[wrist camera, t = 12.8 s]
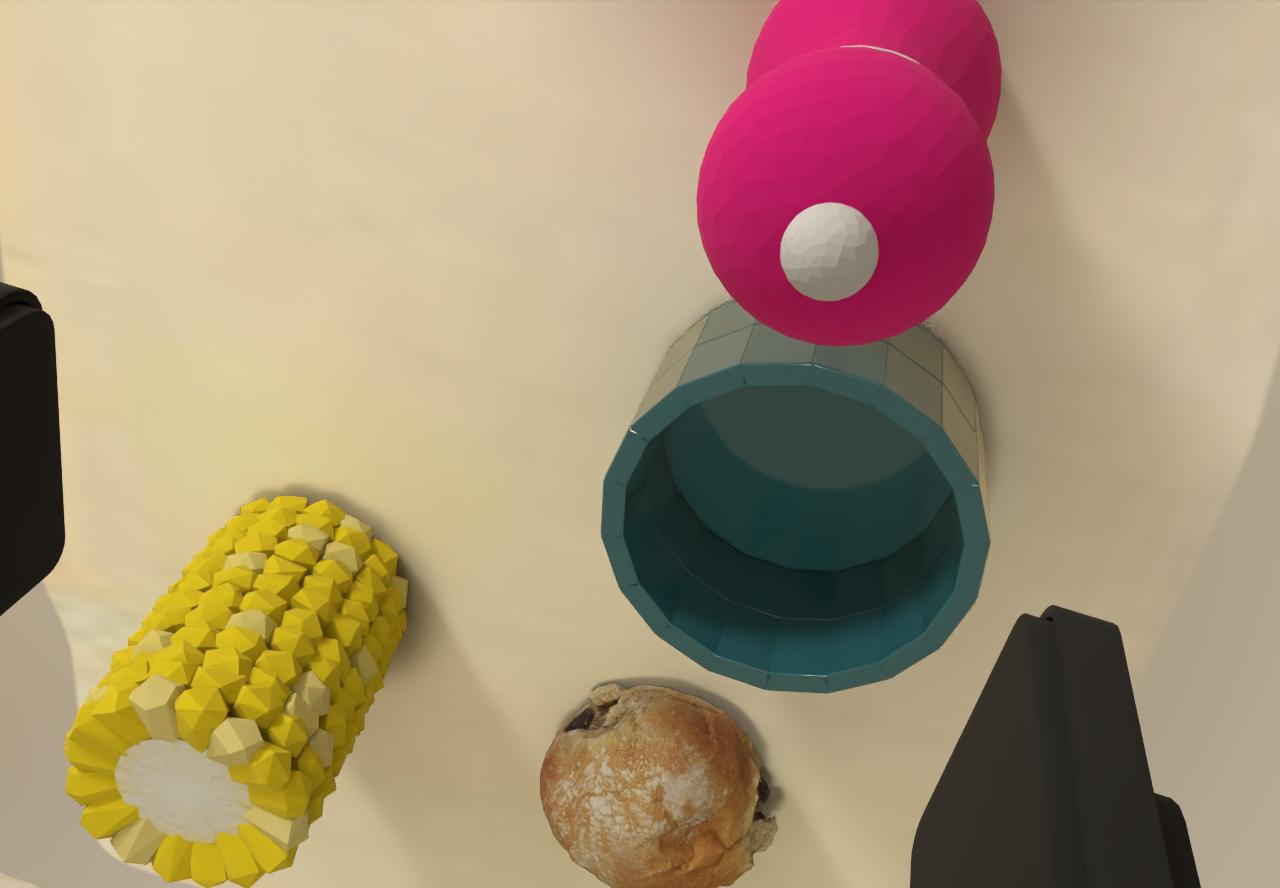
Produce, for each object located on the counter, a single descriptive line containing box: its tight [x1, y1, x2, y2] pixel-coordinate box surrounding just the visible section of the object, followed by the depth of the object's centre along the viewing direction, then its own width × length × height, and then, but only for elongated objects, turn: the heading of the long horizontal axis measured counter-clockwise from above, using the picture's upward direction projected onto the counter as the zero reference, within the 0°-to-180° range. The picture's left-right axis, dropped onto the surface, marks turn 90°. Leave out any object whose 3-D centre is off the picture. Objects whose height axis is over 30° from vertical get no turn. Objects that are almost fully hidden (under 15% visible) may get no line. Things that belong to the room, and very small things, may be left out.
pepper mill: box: [697, 0, 1002, 347], centre depth 29 cm, size 7×7×20 cm
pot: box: [601, 300, 991, 693], centre depth 42 cm, size 13×13×7 cm
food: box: [64, 496, 408, 888], centre depth 47 cm, size 15×12×10 cm
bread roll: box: [540, 682, 778, 888], centre depth 52 cm, size 10×10×8 cm
